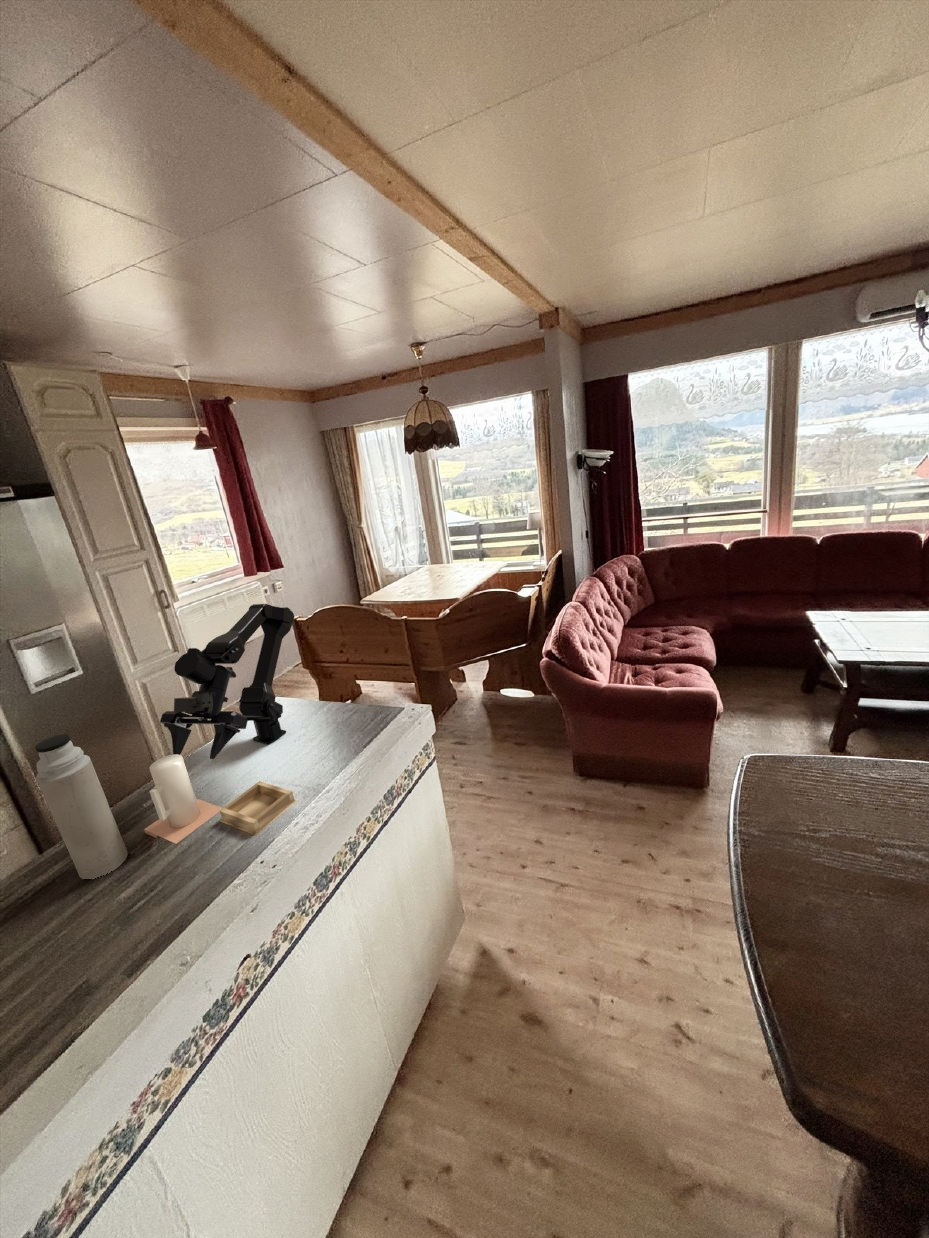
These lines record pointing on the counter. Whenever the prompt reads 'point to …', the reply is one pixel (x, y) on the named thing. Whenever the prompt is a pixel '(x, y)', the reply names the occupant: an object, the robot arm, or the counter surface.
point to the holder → (257, 807)
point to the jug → (173, 792)
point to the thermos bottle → (79, 807)
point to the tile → (178, 834)
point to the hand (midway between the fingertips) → (193, 758)
